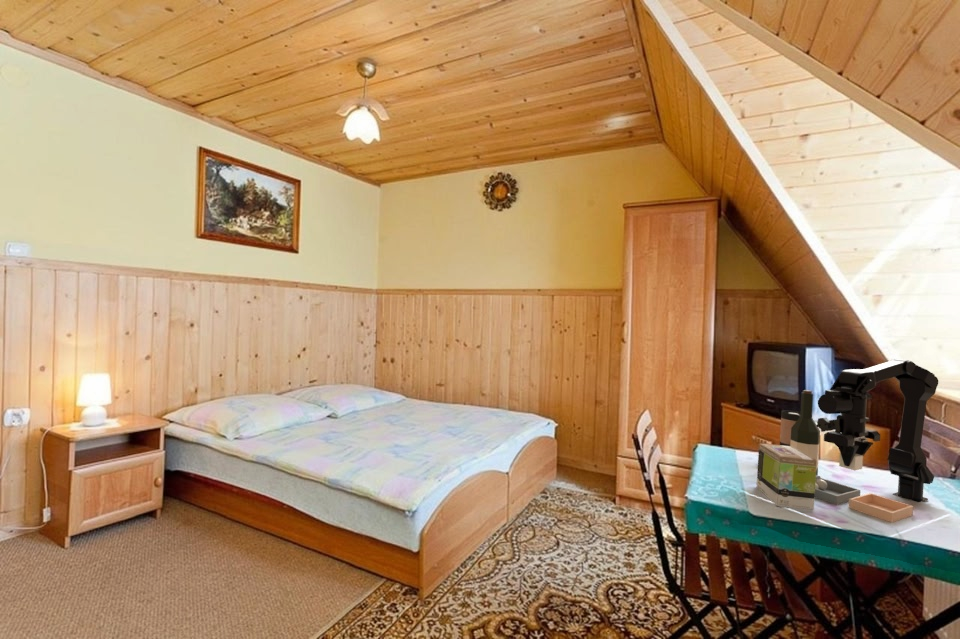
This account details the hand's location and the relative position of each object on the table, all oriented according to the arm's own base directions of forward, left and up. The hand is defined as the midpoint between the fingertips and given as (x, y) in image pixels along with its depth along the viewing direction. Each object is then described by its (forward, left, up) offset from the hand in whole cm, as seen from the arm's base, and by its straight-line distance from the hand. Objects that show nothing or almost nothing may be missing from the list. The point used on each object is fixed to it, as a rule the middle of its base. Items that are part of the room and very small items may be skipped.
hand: (850, 465), depth 137 cm
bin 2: (0, +7, -11) cm, 14 cm away
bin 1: (0, -11, -11) cm, 16 cm away
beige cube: (0, 0, -1) cm, 1 cm away
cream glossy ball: (-2, -9, -11) cm, 14 cm away
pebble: (+3, -9, -11) cm, 14 cm away
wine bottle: (-11, -19, -12) cm, 24 cm away
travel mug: (-20, -28, -12) cm, 36 cm away
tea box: (+16, -10, -12) cm, 22 cm away
